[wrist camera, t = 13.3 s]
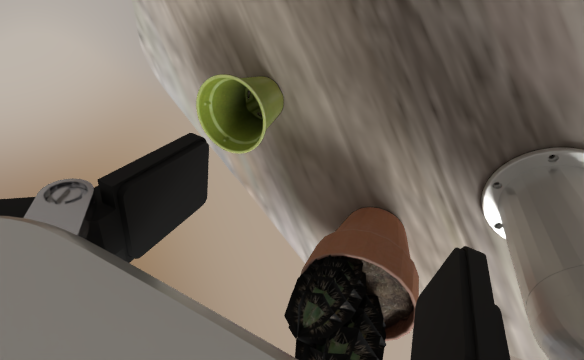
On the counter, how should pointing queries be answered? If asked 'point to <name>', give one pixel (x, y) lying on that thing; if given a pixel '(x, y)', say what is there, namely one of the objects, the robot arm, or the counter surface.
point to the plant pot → (238, 110)
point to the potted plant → (355, 290)
